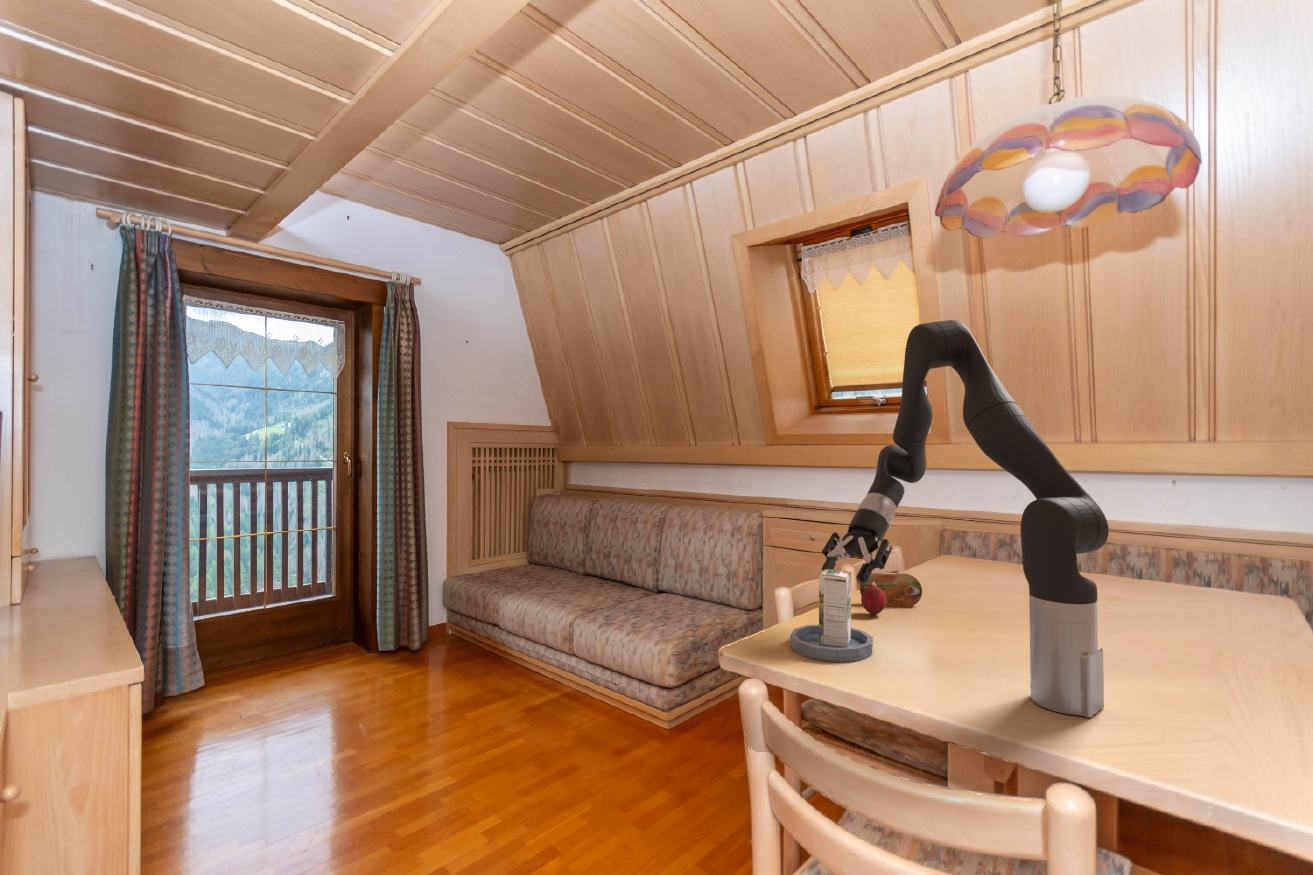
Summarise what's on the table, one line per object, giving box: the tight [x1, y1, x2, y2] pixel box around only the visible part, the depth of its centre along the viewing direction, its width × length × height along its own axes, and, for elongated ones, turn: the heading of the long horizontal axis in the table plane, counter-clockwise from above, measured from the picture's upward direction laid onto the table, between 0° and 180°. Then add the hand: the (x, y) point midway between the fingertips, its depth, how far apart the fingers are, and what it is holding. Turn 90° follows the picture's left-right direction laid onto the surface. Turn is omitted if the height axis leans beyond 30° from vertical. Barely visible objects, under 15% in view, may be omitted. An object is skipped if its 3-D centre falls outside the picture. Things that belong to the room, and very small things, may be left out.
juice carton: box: [818, 569, 852, 647], centre depth 128 cm, size 6×6×14 cm
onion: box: [860, 582, 887, 617], centre depth 150 cm, size 6×6×8 cm
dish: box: [789, 623, 874, 663], centre depth 128 cm, size 16×16×2 cm
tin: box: [859, 572, 923, 608], centre depth 159 cm, size 15×3×8 cm, turn 81°
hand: (842, 577), depth 130 cm, fingers open, 8 cm apart
